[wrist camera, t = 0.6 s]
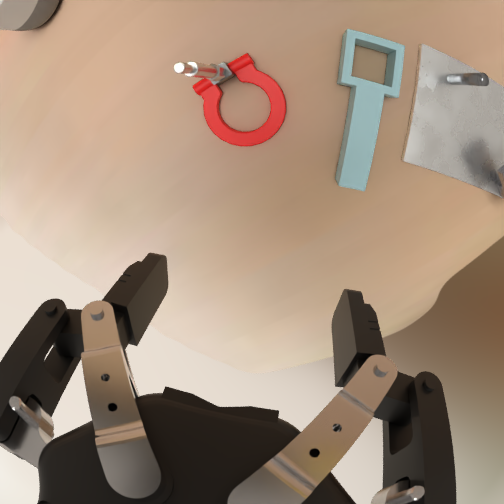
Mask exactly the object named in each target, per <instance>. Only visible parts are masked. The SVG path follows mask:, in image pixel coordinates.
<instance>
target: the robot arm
mask: <svg viewBox="0 0 504 504" xmlns="http://www.w3.org/2000/svg"><path fill="white" fill-rule="evenodd" d="M167 289H168V271H167V258H166V256H165V255H160V254H155V253H149V254H148V255H147V256H146V257H145V258H144V260H143V261H142V262H140V261H137V262H135V263H134V264H132V265H130V266H129V267H128V268H127V269H126V270H125V272H124V273H123V275H121V277H120V278H119V279H118V281H117V282H116V283H115V284H114V285H113V287H112V288H111V289H110V290H109V292H108V293H107V294H106V296H105V297H104V299H103V300H102V301H94V302H91V303H89V304H88V305H86V306H85V307H84V308H83V310H76V309H67V308H66V305H65V303H64V302H63V301H62V300H60V299H50V300H47V301H45V302H44V303H43V304H42V305H41V306H40V307H39V308H38V310H37V311H36V312H35V313H34V315H33V316H32V317H31V319H30V320H29V321H28V323H27V324H26V325H25V327H24V328H23V330H22V331H21V332H20V334H19V335H18V337H17V338H16V339H15V341H14V342H13V344H12V345H11V347H10V348H9V350H8V351H7V353H6V354H5V356H4V357H3V359H2V360H1V362H0V446H1V447H3V448H4V449H6V450H7V451H9V452H10V453H13V454H14V455H16V456H17V457H19V458H21V459H24V460H26V461H27V462H29V463H30V464H32V465H33V466H35V467H37V468H38V471H39V481H40V493H39V500H38V503H37V504H356V503H355V502H354V501H353V500H352V498H351V497H350V496H349V495H348V493H347V492H346V491H345V490H344V488H343V487H342V486H341V485H340V483H339V482H338V481H337V479H336V478H335V477H334V475H333V474H332V473H331V470H332V469H333V468H334V467H335V466H336V464H337V463H338V462H339V461H340V459H341V458H342V457H343V456H344V455H345V454H346V452H347V451H348V450H349V449H350V447H351V446H352V445H353V444H354V442H355V441H356V440H357V439H358V437H359V436H360V435H361V433H362V432H363V431H364V429H365V428H366V426H367V425H368V424H369V422H370V421H371V419H372V418H373V417H375V418H378V419H381V420H383V489H382V490H380V491H379V492H377V493H376V494H375V496H374V497H373V499H372V501H371V504H456V479H455V478H456V477H455V464H454V454H453V445H452V438H451V431H450V424H449V419H448V413H447V407H446V402H445V397H444V392H443V388H442V384H441V382H440V380H439V379H438V377H437V376H435V375H434V374H432V373H430V372H426V371H425V372H421V373H419V374H418V375H417V376H416V377H415V378H414V377H411V376H408V375H406V374H403V373H400V372H398V371H397V368H396V365H395V364H394V362H393V361H392V360H390V359H389V358H388V357H386V354H385V349H384V345H383V340H382V336H381V331H380V327H379V324H378V319H377V315H376V312H375V311H374V310H373V308H372V307H371V305H370V304H364V300H363V296H362V293H361V291H355V290H349V289H344V291H343V293H342V295H341V298H340V300H339V303H338V305H337V307H336V310H335V312H334V315H333V319H332V338H333V353H334V369H335V386H336V387H344V388H343V390H341V391H340V392H339V393H338V394H337V395H336V396H335V397H334V398H333V399H332V401H331V402H330V403H329V404H328V405H327V406H326V407H325V408H324V409H323V410H322V411H321V412H320V414H319V415H318V416H317V417H316V418H315V419H314V420H313V421H312V422H311V423H310V424H309V425H308V426H307V427H306V428H305V429H304V430H303V431H302V432H300V431H299V430H298V429H297V428H296V427H294V426H293V425H291V424H290V423H288V422H286V421H284V420H282V419H279V418H278V414H279V411H278V410H271V409H264V408H257V407H252V406H249V407H218V406H216V405H214V404H212V403H210V402H207V401H206V400H204V399H202V398H200V397H198V396H195V395H194V394H191V393H187V392H183V391H180V390H176V389H173V388H169V387H165V389H164V392H163V393H153V394H146V395H143V396H139V393H138V390H137V388H136V385H135V381H134V378H133V375H132V371H131V368H130V364H129V361H128V357H127V353H126V350H125V349H126V347H127V345H128V344H132V345H135V346H137V345H138V343H139V341H140V340H141V338H142V336H143V334H144V332H145V331H146V329H147V327H148V325H149V323H150V322H151V320H152V318H153V316H154V315H155V313H156V311H157V309H158V308H159V306H160V304H161V302H162V301H163V299H164V297H165V295H166V293H167ZM52 345H54V346H53V348H52V349H51V351H50V353H49V355H48V356H47V358H46V359H45V356H46V354H47V353H48V351H49V349H50V348H51V347H52ZM44 359H45V361H44ZM81 359H82V366H83V374H84V380H85V386H86V391H87V396H88V402H89V407H90V412H91V417H92V421H90V422H88V423H86V424H84V425H82V426H80V427H78V428H76V429H74V430H72V431H70V432H68V433H66V434H64V435H61V436H59V437H57V438H55V439H53V440H52V438H53V437H54V432H53V430H54V424H53V421H52V419H51V417H52V415H53V413H54V410H55V408H56V406H57V404H58V402H59V400H60V398H61V396H62V394H63V392H64V390H65V388H66V386H67V384H68V382H69V380H70V378H71V376H72V374H73V373H74V371H75V369H76V367H77V365H78V363H79V361H80V360H81Z"/></svg>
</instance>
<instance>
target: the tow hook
mask: <svg viewBox="0 0 504 504" xmlns="http://www.w3.org/2000/svg"><path fill="white" fill-rule="evenodd" d="M253 64H254V62H253V60H252V59H251V57H250V56H249V54H248V53H246V54H244V55H243V56H241V57H239V58H237V59H235V60H234V61H232V62H230V63H225V62H222V63H220V64H219V65H215V64H210V65H206V64H202V63H197V62H193V61H190V62H187V63H182V62H178V63H176V64H175V65H174V71H175V72H176V73H181V74H184V75H185V76H187V77H200V78H204V79H202V80H201V81H199V82H198V83H196V84H195V85H193V89H194V90H195V92H196V93H197V94H198V95H201V96H202V98H203V99H204V105H203V107H204V116H205V119H206V121H207V124H208V126H209V127H210V129H211V130H212V131H213V133H214V134H215V135H217V136H218V137H219V138H220V139H221V140H223V141H225V142H228V143H230V144H233V145H238V146H253V145H256V144H260V143H263V142H264V141H266V140H268V139H270V138H271V137H272V136H273V135H274V134H275V133H276V132H277V131H278V130H279V128H280V126H281V125H282V123H283V121H284V117H285V113H286V101H285V97H284V94H283V91H282V90H281V88H280V87H279V85H278V84H277V82H276V81H274V80H273V79H272V78H271V77H270V76H269V75H267V74H265V73H263V72H260V71H258V70H257V69H256V68H255V66H254V65H253ZM235 75H236V76H237V77H238V79H239V80H240V81H241V82H248V83H253V84H255V85H257V86H259V87H261V88H262V89H263V90H264V91H265V92H266V94H267V95H268V97H269V100H270V103H271V111H270V116H269V118H268V120H267V121H266V123H265V124H264V125H263V126H261V127H260V128H258V129H256V130H253V131H250V132H242V131H237V130H234V129H232V128H230V127H229V126H228V125H227V124H226V123H225V122H224V121H223V119H222V118H221V115H220V113H219V102H220V98H221V96H222V91H221V89H220V88H219V86H218V85H220V84H221V83H223V82H225V81H226V80H228V79H230V78H231V77H233V76H235Z"/></svg>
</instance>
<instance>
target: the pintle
mask: <svg viewBox="0 0 504 504" xmlns="http://www.w3.org/2000/svg"><path fill="white" fill-rule="evenodd" d="M447 80H448V82H449V83H450V84H451V85H471V86H488V85H489V78H488V76H487V75H486V74H485V73H457V74H449V75H448V76H447Z"/></svg>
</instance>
